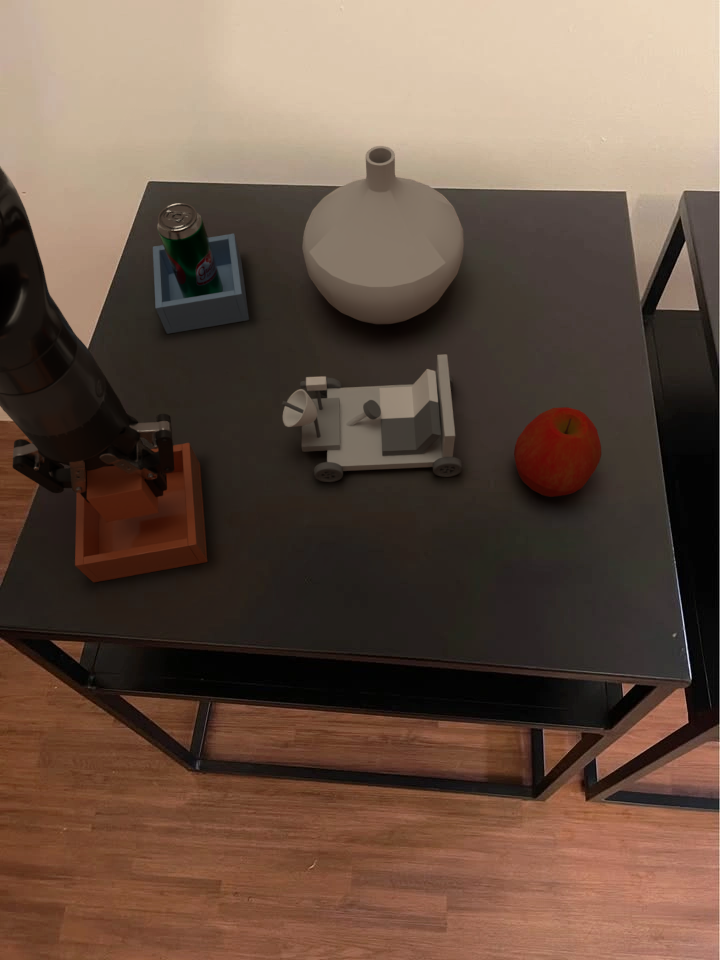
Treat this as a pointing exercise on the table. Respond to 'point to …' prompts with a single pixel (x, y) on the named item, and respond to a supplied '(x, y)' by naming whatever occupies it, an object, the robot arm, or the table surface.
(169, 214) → the soda can
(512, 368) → the table surface
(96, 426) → the robot arm
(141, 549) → the terracotta bin
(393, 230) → the vase
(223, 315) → the blue bin
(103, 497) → the block
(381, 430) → the toy car
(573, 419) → the apple
